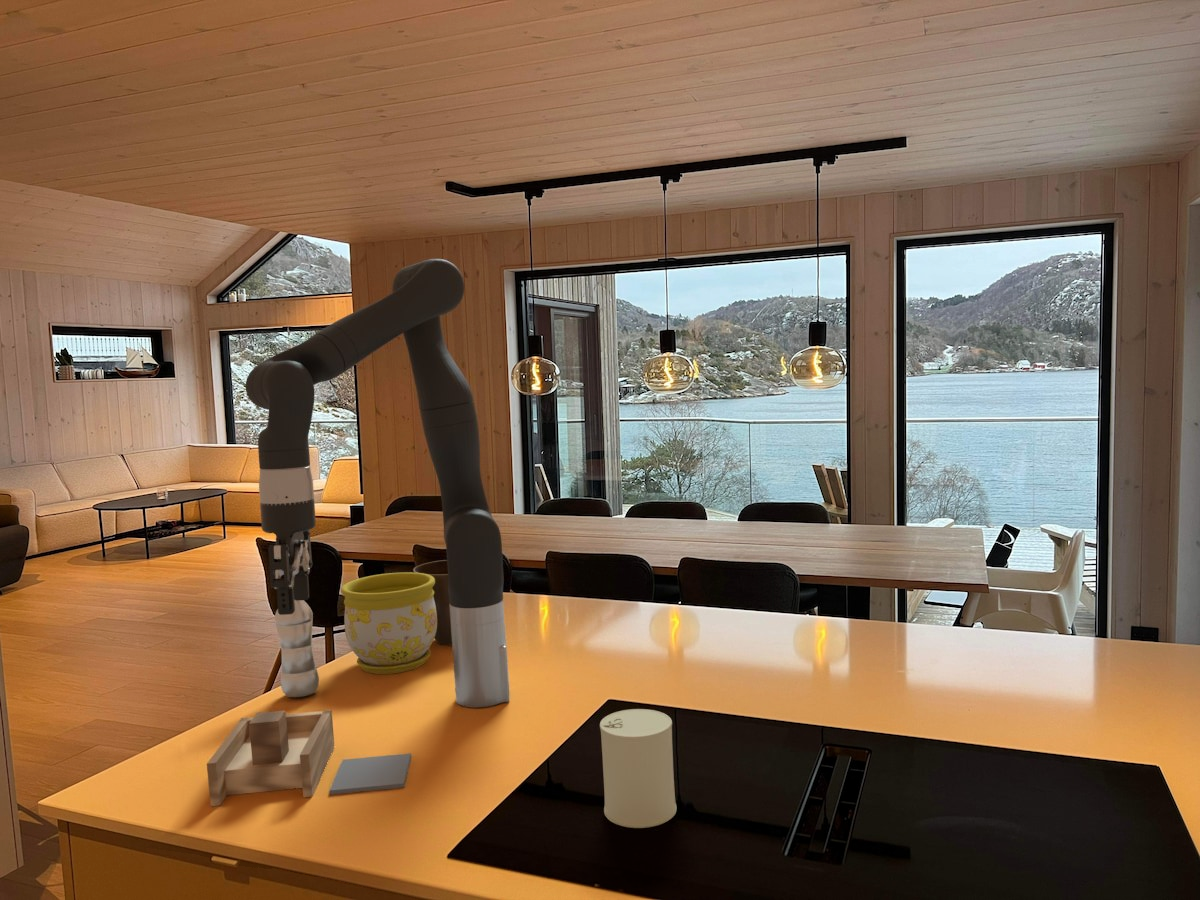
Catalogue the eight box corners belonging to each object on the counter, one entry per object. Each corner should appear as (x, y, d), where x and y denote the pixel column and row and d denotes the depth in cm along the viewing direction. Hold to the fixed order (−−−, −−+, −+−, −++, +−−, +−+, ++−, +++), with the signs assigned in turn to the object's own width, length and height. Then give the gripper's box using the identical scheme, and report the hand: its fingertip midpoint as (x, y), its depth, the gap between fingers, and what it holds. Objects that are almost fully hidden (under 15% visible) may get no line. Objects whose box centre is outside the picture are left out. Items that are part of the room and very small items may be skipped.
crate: (334, 748, 140) (331, 710, 140) (312, 796, 124) (308, 754, 124) (244, 756, 139) (241, 718, 138) (210, 806, 123) (206, 763, 122)
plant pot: (463, 625, 205) (459, 555, 203) (503, 638, 194) (498, 564, 192) (405, 641, 195) (400, 568, 193) (443, 655, 184) (438, 577, 182)
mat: (411, 757, 135) (411, 753, 135) (403, 787, 125) (403, 783, 125) (342, 763, 134) (342, 759, 134) (329, 794, 124) (329, 790, 124)
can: (601, 796, 120) (596, 708, 119) (670, 790, 120) (666, 702, 119) (607, 831, 111) (602, 736, 110) (682, 824, 111) (678, 729, 110)
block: (288, 750, 131) (285, 710, 131) (282, 762, 127) (278, 721, 127) (260, 753, 131) (256, 712, 130) (252, 765, 127) (248, 723, 126)
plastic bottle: (309, 702, 161) (299, 591, 159) (274, 701, 162) (264, 591, 161) (326, 689, 167) (318, 582, 165) (293, 688, 169) (284, 582, 167)
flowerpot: (341, 659, 185) (335, 580, 183) (429, 644, 192) (423, 568, 190) (354, 685, 168) (347, 598, 167) (450, 668, 175) (444, 585, 174)
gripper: (301, 503, 127) (308, 617, 128) (324, 490, 141) (330, 593, 142) (245, 506, 126) (253, 620, 127) (274, 493, 140) (281, 596, 141)
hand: (294, 606), depth 135 cm, fingers open, 8 cm apart
